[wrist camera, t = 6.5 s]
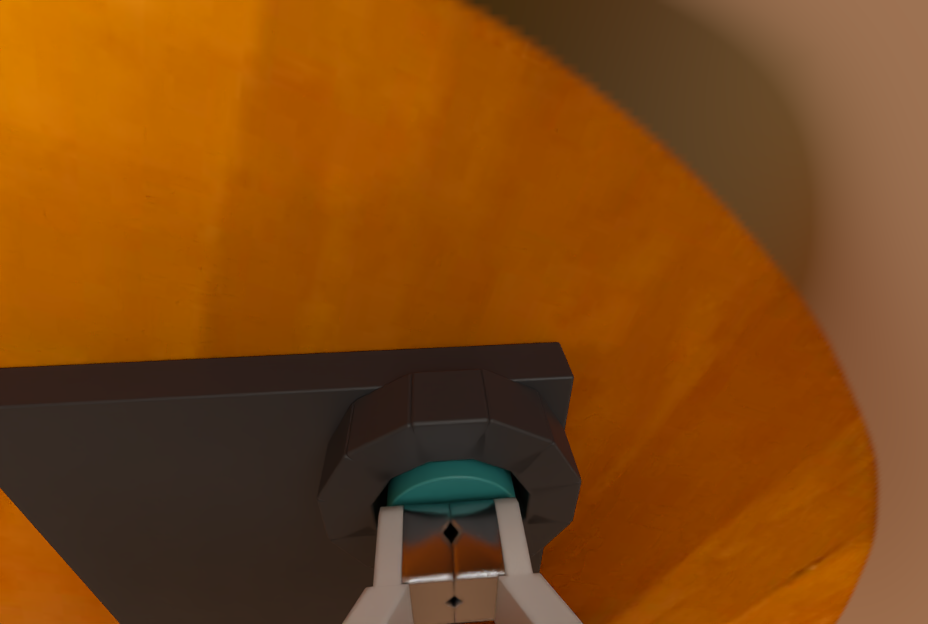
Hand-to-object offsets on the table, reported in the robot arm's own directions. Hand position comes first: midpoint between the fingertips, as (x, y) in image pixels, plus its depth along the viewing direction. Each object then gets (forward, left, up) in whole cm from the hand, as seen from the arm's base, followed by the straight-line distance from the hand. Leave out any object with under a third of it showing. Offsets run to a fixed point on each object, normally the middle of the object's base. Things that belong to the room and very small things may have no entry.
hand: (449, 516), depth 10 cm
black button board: (+4, +4, -3) cm, 6 cm away
